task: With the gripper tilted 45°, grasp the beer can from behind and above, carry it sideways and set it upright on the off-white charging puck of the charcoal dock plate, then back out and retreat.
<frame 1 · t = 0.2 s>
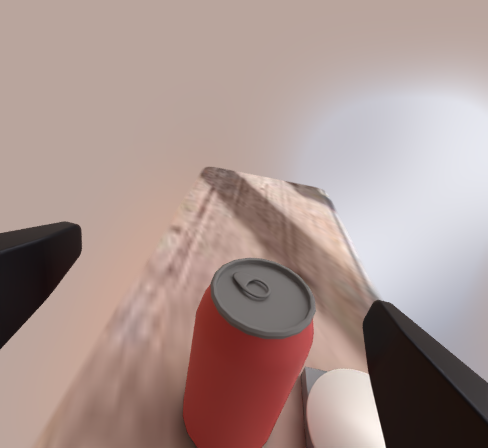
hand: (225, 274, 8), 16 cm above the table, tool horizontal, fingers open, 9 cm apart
beer can: (227, 411, 21), on the table
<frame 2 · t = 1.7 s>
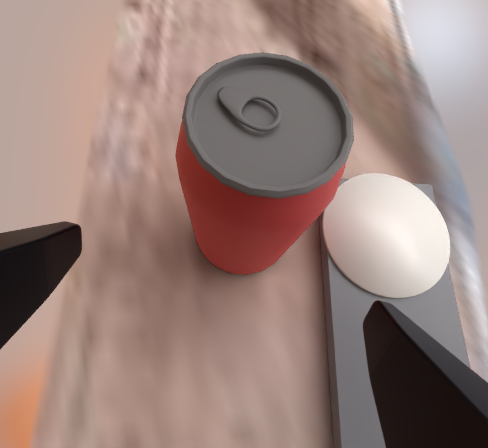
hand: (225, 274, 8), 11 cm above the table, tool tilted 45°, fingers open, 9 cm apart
beer can: (241, 231, 20), on the table
charging dock: (385, 306, 19), on the table
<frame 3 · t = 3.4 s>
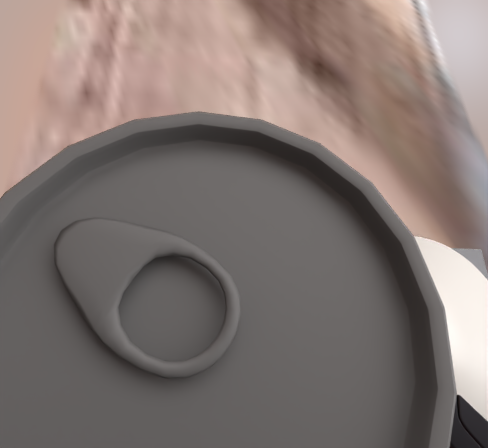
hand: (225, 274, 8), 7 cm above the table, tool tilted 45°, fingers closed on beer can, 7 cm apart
beer can: (215, 320, 14), on the table, touching gripper
charging dock: (422, 437, 13), on the table
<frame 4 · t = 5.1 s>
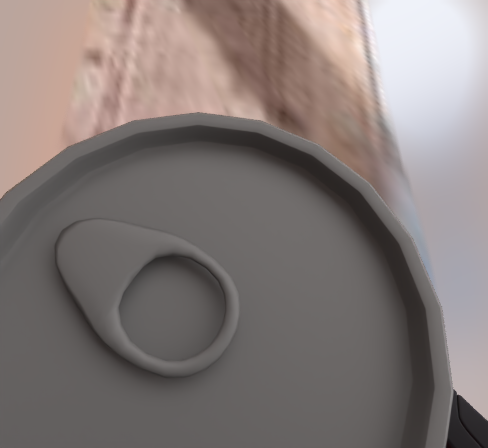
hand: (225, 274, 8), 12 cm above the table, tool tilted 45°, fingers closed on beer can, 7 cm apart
beer can: (214, 320, 14), point 5 cm above the table, touching gripper
when the fingers open (9 cm above the table, at t = 6.8 s): beer can stays where it is, resting on charging dock.
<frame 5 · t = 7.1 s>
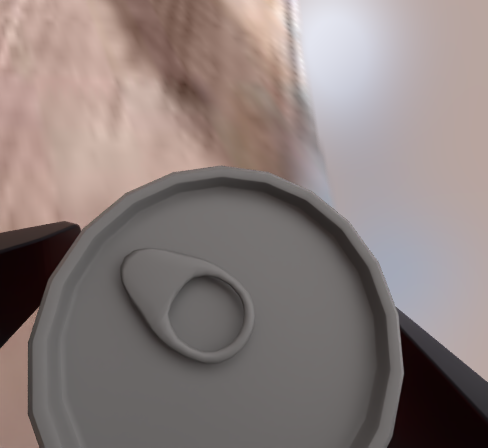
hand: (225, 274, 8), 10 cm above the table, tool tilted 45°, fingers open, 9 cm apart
beer can: (214, 324, 16), point 1 cm above the table, touching charging dock
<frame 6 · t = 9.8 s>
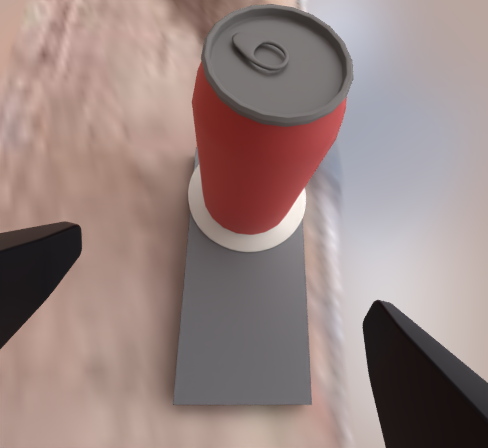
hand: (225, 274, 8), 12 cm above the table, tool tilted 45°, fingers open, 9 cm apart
beer can: (246, 196, 22), point 1 cm above the table, touching charging dock
charging dock: (244, 262, 21), on the table
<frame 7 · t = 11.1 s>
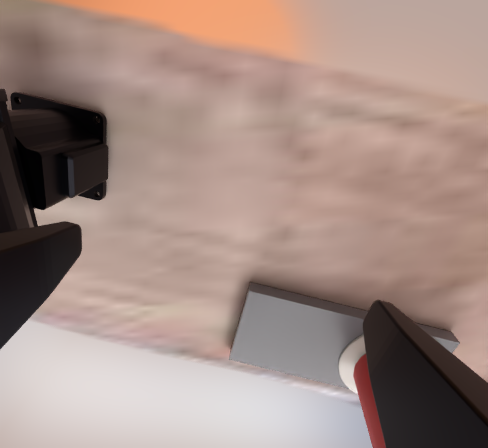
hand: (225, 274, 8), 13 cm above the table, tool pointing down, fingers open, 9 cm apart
beer can: (389, 365, 25), point 1 cm above the table, touching charging dock
charging dock: (333, 341, 26), on the table
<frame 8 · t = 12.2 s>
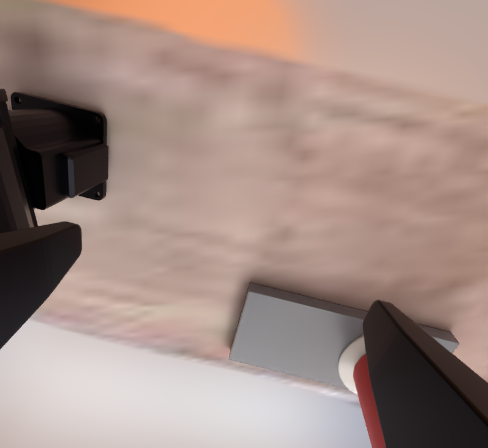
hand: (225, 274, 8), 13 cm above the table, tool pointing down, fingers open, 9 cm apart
beer can: (388, 365, 25), point 1 cm above the table, touching charging dock
charging dock: (333, 341, 26), on the table
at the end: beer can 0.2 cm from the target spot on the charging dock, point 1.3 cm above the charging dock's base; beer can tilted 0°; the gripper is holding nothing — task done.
